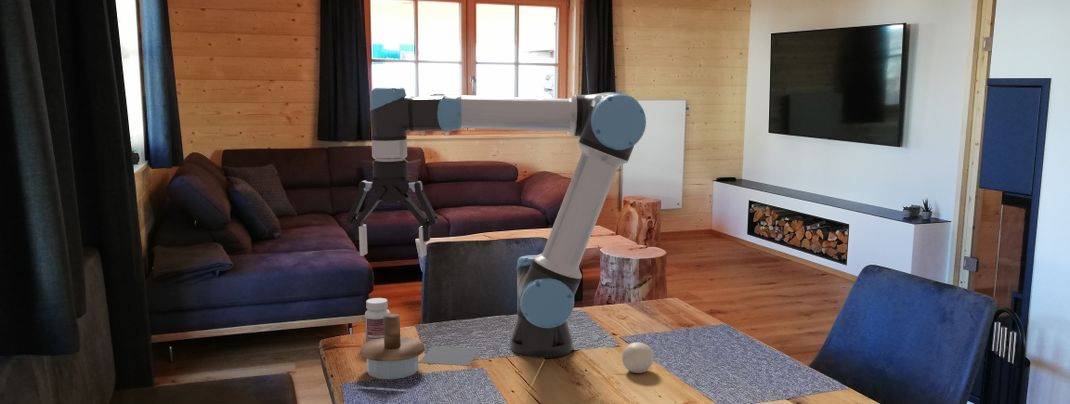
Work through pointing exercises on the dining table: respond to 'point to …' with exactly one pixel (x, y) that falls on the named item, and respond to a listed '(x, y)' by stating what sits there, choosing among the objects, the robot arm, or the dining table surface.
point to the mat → (450, 355)
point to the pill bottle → (375, 318)
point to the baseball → (637, 357)
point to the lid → (392, 343)
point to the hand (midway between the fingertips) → (393, 255)
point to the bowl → (392, 368)
